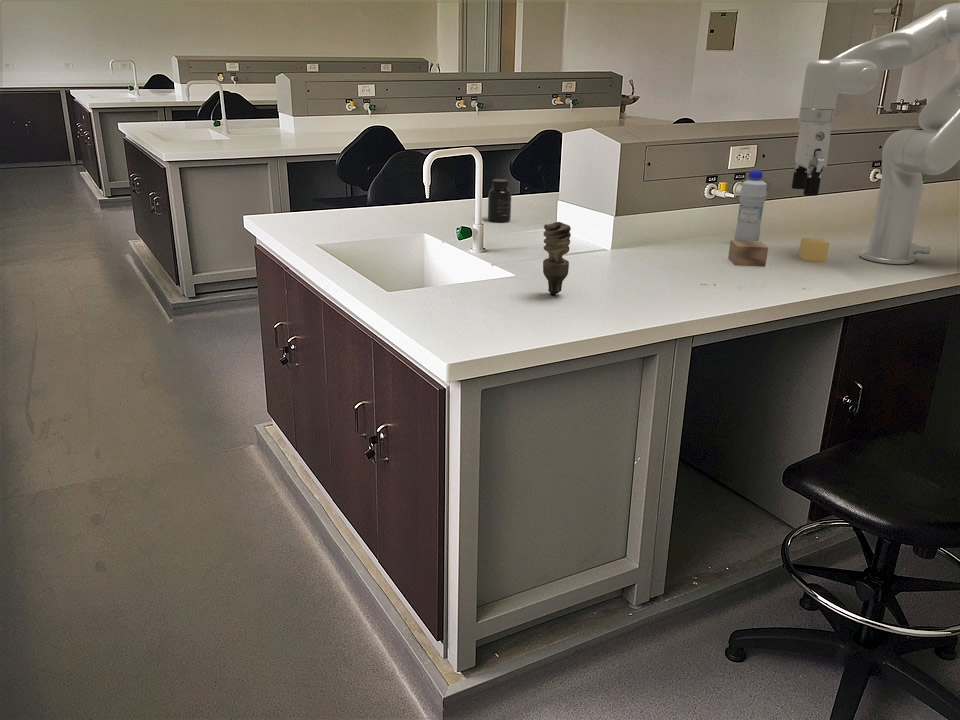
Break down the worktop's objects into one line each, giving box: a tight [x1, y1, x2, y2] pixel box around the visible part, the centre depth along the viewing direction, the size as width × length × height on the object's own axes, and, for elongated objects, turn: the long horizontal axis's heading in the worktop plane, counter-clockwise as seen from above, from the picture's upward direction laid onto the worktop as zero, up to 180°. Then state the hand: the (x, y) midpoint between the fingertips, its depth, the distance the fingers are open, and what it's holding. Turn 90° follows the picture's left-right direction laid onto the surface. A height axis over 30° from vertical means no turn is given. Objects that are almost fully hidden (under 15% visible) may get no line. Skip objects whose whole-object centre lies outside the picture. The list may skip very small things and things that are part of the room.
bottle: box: [733, 169, 768, 241], centre depth 207 cm, size 7×7×20 cm
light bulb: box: [542, 221, 572, 296], centre depth 159 cm, size 6×6×15 cm
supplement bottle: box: [487, 178, 512, 224], centre depth 233 cm, size 7×7×12 cm
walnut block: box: [728, 239, 769, 267], centre depth 186 cm, size 7×7×4 cm
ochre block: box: [798, 237, 830, 262], centre depth 192 cm, size 5×5×6 cm
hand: (804, 191), depth 188 cm, fingers open, 9 cm apart
